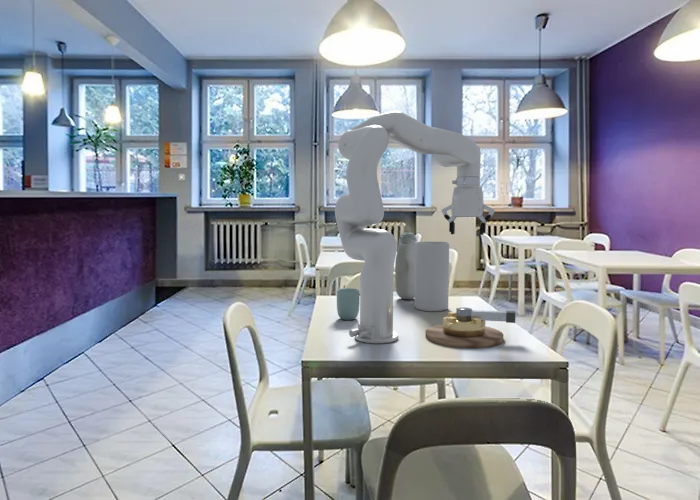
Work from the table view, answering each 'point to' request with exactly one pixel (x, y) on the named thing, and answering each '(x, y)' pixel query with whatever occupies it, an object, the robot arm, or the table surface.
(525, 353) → the table surface
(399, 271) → the glass bottle
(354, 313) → the cup
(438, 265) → the cylinder vase
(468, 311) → the grey lever
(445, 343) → the lever base
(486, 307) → the table surface
